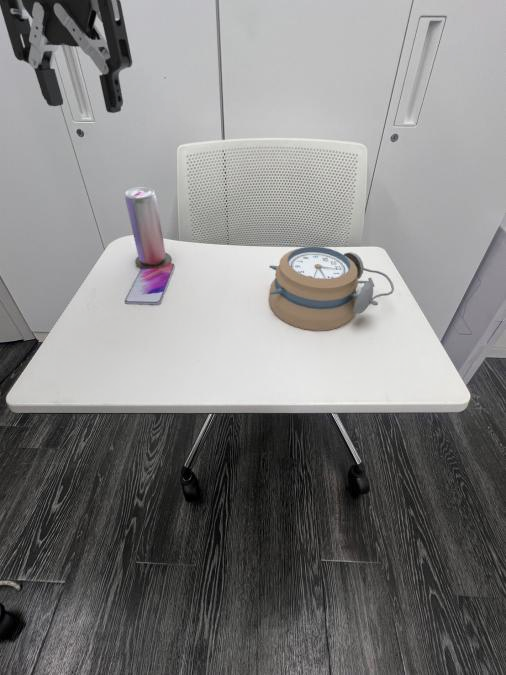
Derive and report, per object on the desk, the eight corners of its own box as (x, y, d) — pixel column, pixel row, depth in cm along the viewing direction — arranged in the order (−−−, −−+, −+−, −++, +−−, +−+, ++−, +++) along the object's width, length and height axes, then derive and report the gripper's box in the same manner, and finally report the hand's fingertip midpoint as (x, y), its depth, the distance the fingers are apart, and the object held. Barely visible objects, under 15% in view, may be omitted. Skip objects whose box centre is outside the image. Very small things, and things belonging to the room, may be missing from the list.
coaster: (128, 266, 76) (128, 264, 75) (147, 250, 81) (146, 248, 81) (160, 273, 74) (160, 271, 74) (177, 256, 80) (177, 254, 80)
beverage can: (134, 263, 76) (118, 195, 66) (147, 251, 80) (134, 185, 70) (158, 268, 75) (146, 199, 65) (170, 255, 79) (160, 188, 69)
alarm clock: (270, 238, 68) (386, 242, 68) (267, 277, 74) (373, 281, 74) (272, 286, 55) (414, 291, 55) (268, 329, 61) (396, 333, 61)
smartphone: (123, 302, 66) (143, 262, 77) (124, 305, 66) (144, 265, 77) (160, 303, 66) (175, 263, 77) (161, 306, 66) (176, 266, 77)
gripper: (-60, -104, 31) (15, 107, 42) (74, -107, 29) (118, 119, 39) (5, -83, 37) (57, 100, 47) (123, -84, 34) (150, 109, 45)
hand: (85, 108), depth 43 cm, fingers open, 8 cm apart
